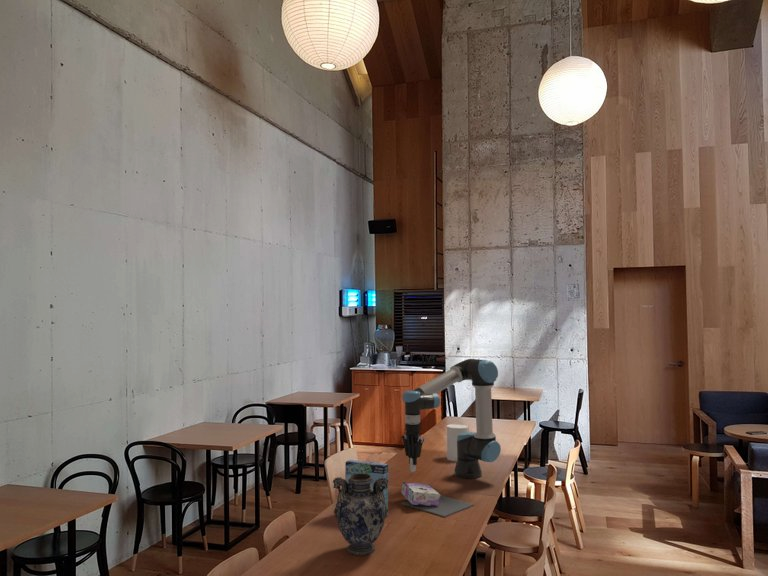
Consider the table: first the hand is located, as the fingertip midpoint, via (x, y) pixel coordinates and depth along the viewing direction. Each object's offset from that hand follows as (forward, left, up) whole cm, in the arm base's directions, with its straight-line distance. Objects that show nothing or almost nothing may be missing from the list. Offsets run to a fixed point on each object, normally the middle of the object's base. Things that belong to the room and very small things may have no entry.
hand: (412, 471), depth 291 cm
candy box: (+1, +2, -8) cm, 8 cm away
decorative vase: (+62, +28, -13) cm, 69 cm away
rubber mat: (+1, +16, -12) cm, 21 cm away
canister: (-75, -30, -13) cm, 82 cm away
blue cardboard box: (+33, +1, -13) cm, 35 cm away
